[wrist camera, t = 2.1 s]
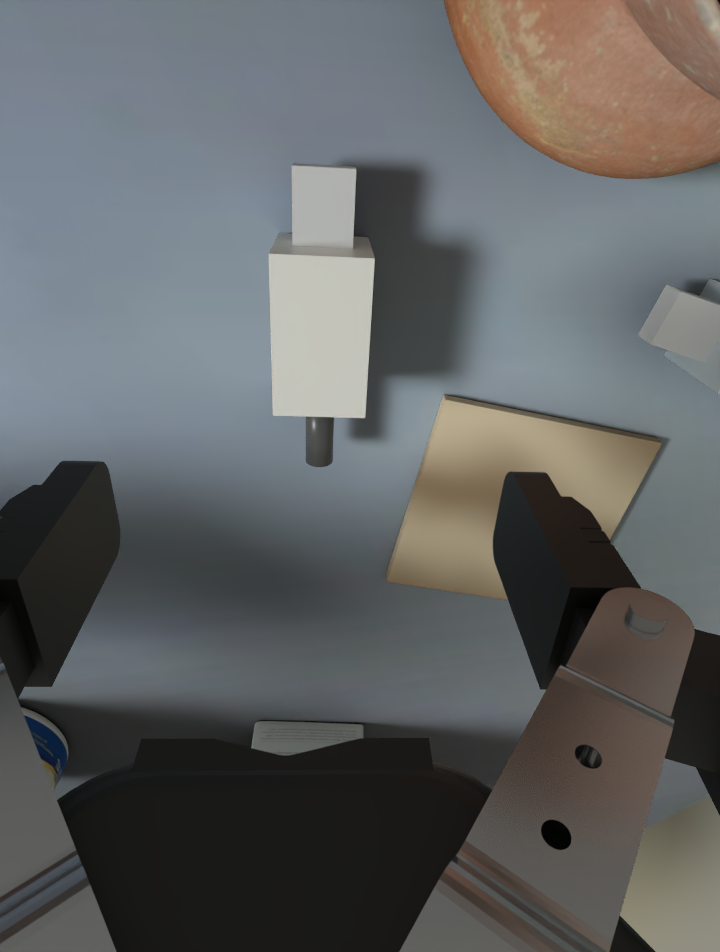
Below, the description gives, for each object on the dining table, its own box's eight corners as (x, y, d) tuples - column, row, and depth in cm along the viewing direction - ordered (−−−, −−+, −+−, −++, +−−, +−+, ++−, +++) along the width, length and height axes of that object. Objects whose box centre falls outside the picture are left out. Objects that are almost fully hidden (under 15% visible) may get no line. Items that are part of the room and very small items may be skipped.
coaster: (568, 602, 35) (571, 609, 34) (385, 574, 33) (386, 581, 33) (656, 437, 29) (662, 443, 29) (443, 394, 28) (445, 399, 27)
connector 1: (357, 438, 29) (360, 487, 25) (282, 436, 29) (274, 485, 25) (371, 165, 23) (380, 173, 19) (277, 159, 23) (266, 167, 19)
